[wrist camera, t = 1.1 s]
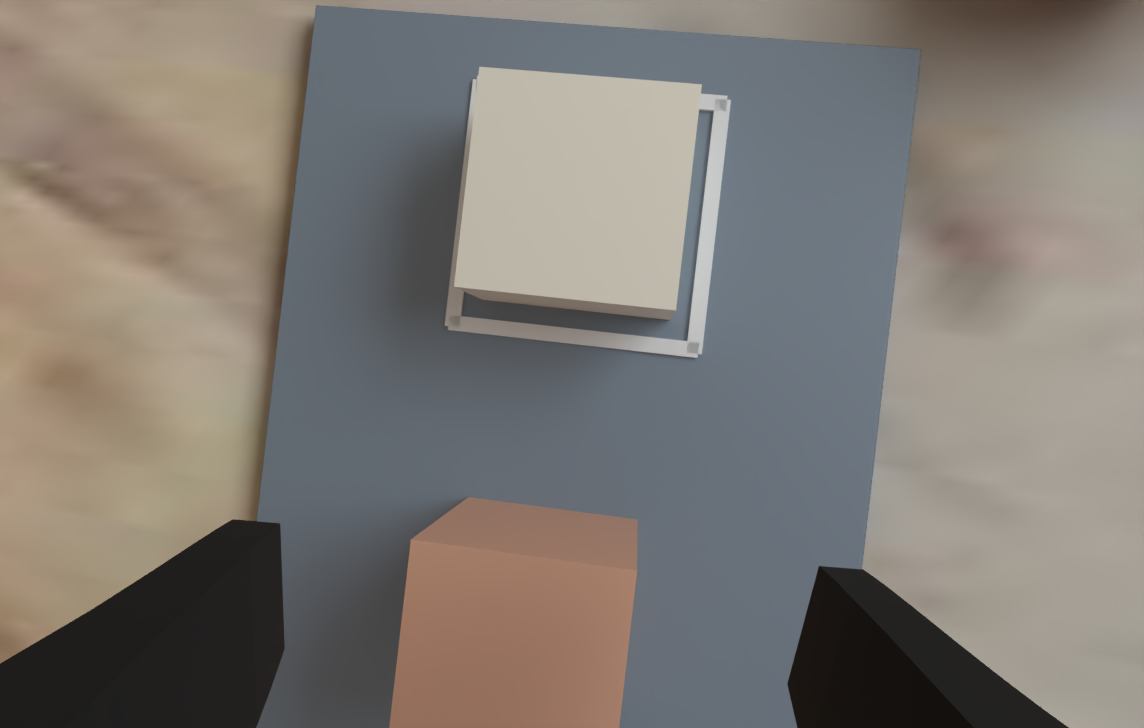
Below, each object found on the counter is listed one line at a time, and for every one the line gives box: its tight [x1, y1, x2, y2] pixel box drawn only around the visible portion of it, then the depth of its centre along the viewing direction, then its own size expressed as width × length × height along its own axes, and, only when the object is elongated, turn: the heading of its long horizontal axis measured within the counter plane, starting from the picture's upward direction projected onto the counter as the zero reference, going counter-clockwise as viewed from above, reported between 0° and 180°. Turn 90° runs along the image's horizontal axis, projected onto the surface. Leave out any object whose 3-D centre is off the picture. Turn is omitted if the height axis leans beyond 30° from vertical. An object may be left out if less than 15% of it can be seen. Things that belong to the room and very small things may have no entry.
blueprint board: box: [256, 5, 921, 728], centre depth 18 cm, size 20×16×4 cm
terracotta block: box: [389, 497, 638, 728], centre depth 17 cm, size 4×4×5 cm
